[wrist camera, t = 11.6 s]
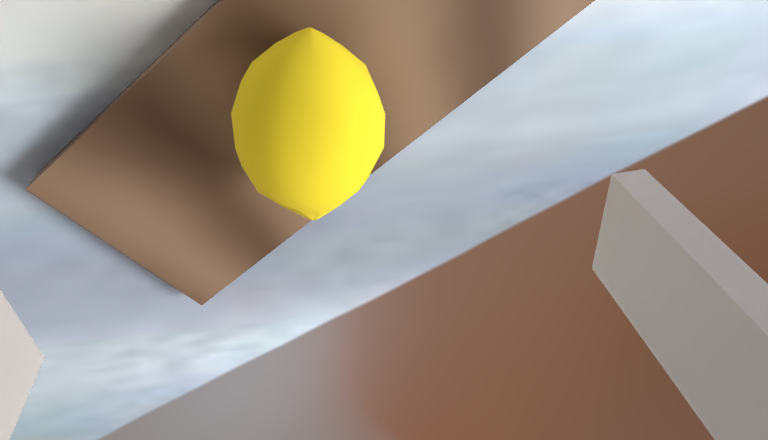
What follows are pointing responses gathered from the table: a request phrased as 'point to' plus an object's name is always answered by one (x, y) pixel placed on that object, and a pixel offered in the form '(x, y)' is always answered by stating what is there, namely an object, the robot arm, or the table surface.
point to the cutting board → (215, 130)
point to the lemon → (308, 123)
